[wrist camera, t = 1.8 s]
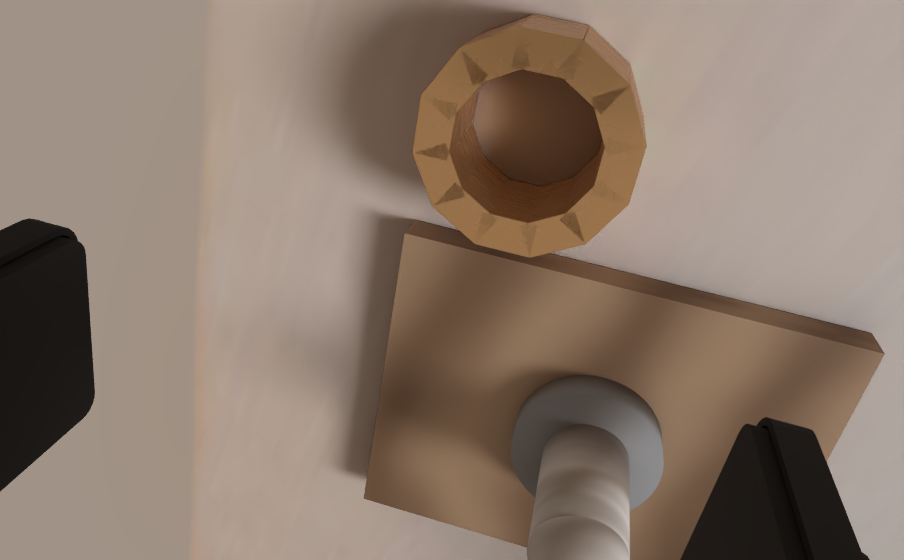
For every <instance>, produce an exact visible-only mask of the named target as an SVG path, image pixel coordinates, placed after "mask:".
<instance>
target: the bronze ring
mask: <svg viewBox="0 0 904 560" xmlns="http://www.w3.org/2000/svg"><path fill="white" fill-rule="evenodd" d="M521 69H523V70H527V71H532V72H536V73H541V74H546V75H550V76H555V77H559V78H563V79H564V80H565V81H566V82H567V83H568V84H570V85H571V86H572V87H573V88H574V89H575V90H576V91H577V92H578V93H579V94H580V95H581V96H582V97H583V98H584V99H585V100H587V101H588V102H589V103H590V104H591V105H592V106H593V107H594V110H595V113H596V117H597V120H598V124H599V128H600V131H601V135H602V142H601V146H600V149H599V153H598V154H597V155H596V156H595V157H594V158H593V159H592V160H591V161H590V162H589V163H588V164H587V165H586V166H585V167H584V168H583V169H582V170H581V171H580V172H579V173H578V174H577V175H576V176H575V177H574V178H570V179H567V180H563V181H559V182H556V183H552V184H548V185H545V186H541V187H540V186H536V185H532V184H528V183H524V182H519V181H515V180H511V179H508V178H507V177H506V176H504V175H503V174H502V173H501V172H500V171H499V170H498V169H497V168H496V167H495V166H493V165H492V164H491V163H490V162H489V161H488V160H487V159H486V158H485V157H484V156H483V154H482V151H481V148H480V145H479V142H478V139H477V136H476V134H475V131H474V128H473V125H472V123H473V118H474V112H475V107H476V101H477V96H478V91H479V89H480V88H481V87H482V85H483V84H484V83H485V82H486V81H488V80H491V79H494V78H497V77H500V76H503V75H506V74H509V73H512V72H515V71H518V70H521ZM645 150H646V136H645V127H644V117H643V113H642V109H641V105H640V101H639V97H638V93H637V89H636V85H635V82H634V78H633V74H632V70H631V66H630V64H629V63H628V62H627V61H626V60H625V59H624V58H623V57H622V56H621V55H620V54H619V53H618V52H617V51H616V50H615V49H614V48H613V47H612V46H611V45H610V44H609V43H608V42H607V41H605V40H604V39H603V38H602V37H601V36H600V35H599V34H598V33H597V32H596V31H595V30H594V29H593V28H592V27H591V26H589V25H586V24H581V23H576V22H572V21H567V20H562V19H557V18H552V17H548V16H543V15H538V14H533V15H530V16H527V17H524V18H522V19H519V20H516V21H513V22H511V23H508V24H505V25H502V26H500V27H497V28H494V29H491V30H489V31H486V32H483V33H481V34H480V35H478V36H477V37H475V38H474V39H472V40H471V41H469V42H468V43H466V44H464V45H463V46H461V47H460V48H459V49H458V50H457V51H456V53H455V54H454V55H453V56H452V57H451V59H450V60H449V61H448V62H447V64H446V65H445V66H444V67H443V69H442V70H441V71H440V72H439V74H438V75H437V76H436V77H435V78H434V80H433V81H432V82H431V83H430V85H429V86H428V87H427V88H426V90H425V91H424V92H423V93H422V94H421V99H420V106H419V112H418V119H417V125H416V132H415V139H414V145H413V152H412V153H413V156H414V159H415V161H416V164H417V167H418V169H419V172H420V175H421V177H422V180H423V183H424V185H425V188H426V191H427V193H428V196H429V199H430V201H431V204H432V206H433V207H434V208H435V209H436V210H437V211H438V212H439V213H440V214H441V215H443V216H444V217H445V218H446V219H447V220H448V221H449V222H451V223H452V224H453V225H454V226H455V227H456V228H457V229H458V230H460V231H461V232H462V233H463V234H464V235H465V236H466V237H468V238H469V239H470V240H471V241H472V242H473V243H474V244H477V245H481V246H485V247H489V248H493V249H497V250H501V251H505V252H509V253H513V254H517V255H521V256H525V257H530V258H531V257H535V256H539V255H543V254H547V253H551V252H555V251H559V250H563V249H568V248H572V247H576V246H580V245H584V244H586V243H587V242H588V241H589V240H591V239H592V238H593V237H594V236H595V235H596V234H597V233H598V232H599V231H600V230H601V229H602V228H604V227H605V226H606V225H607V224H608V223H609V222H610V221H611V220H612V219H613V218H614V217H616V216H617V215H618V214H619V213H620V212H621V211H622V210H623V209H624V208H625V207H626V206H627V205H628V204H629V202H630V199H631V195H632V192H633V189H634V185H635V182H636V179H637V176H638V172H639V169H640V166H641V163H642V159H643V156H644V153H645Z"/></svg>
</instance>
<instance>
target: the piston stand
mask: <svg viewBox="0 0 904 560" xmlns="http://www.w3.org/2000/svg"><path fill="white" fill-rule="evenodd" d="M883 356H884V352H883V350H882V349H881V347H880V346H879V344H878V342H877V341H876V339H875V338H874V336H873V334H872V333H868V332H864V331H860V330H856V329H852V328H848V327H844V326H840V325H836V324H832V323H828V322H824V321H820V320H816V319H812V318H808V317H804V316H800V315H795V314H791V313H787V312H783V311H779V310H775V309H771V308H767V307H763V306H759V305H755V304H751V303H747V302H743V301H739V300H735V299H731V298H727V297H723V296H719V295H715V294H711V293H707V292H703V291H699V290H695V289H691V288H687V287H683V286H679V285H675V284H671V283H667V282H663V281H659V280H655V279H651V278H647V277H643V276H639V275H635V274H631V273H626V272H622V271H618V270H614V269H610V268H606V267H602V266H598V265H594V264H590V263H586V262H582V261H578V260H574V259H570V258H566V257H562V256H558V255H554V254H550V253H547V254H543V255H539V256H535V257H531V258H530V257H525V256H521V255H517V254H513V253H509V252H505V251H501V250H497V249H493V248H489V247H485V246H481V245H477V244H474V243H473V242H472V241H471V240H470V239H469V238H468V237H466V236H465V235H464V234H463V233H462V232H461V231H457V230H453V229H449V228H445V227H441V226H437V225H433V224H429V223H425V222H421V221H417V220H414V221H413V223H412V224H411V225H410V227H409V228H408V229H407V231H406V232H405V233H404V240H403V246H402V253H401V259H400V266H399V272H398V279H397V285H396V292H395V298H394V305H393V311H392V318H391V324H390V331H389V337H388V344H387V350H386V357H385V363H384V370H383V376H382V383H381V389H380V396H379V402H378V409H377V415H376V422H375V429H374V435H373V442H372V448H371V455H370V461H369V468H368V474H367V481H366V487H365V494H364V499H367V500H370V501H374V502H377V503H380V504H384V505H387V506H391V507H394V508H397V509H401V510H404V511H407V512H411V513H414V514H417V515H421V516H424V517H427V518H431V519H434V520H437V521H441V522H444V523H447V524H451V525H454V526H457V527H461V528H464V529H468V530H471V531H474V532H478V533H481V534H484V535H488V536H491V537H494V538H498V539H501V540H504V541H508V542H511V543H514V544H518V545H521V546H524V547H527V559H528V560H680V559H681V557H682V555H683V552H684V550H685V548H686V546H687V544H688V542H689V539H690V537H691V535H692V533H693V531H694V529H695V526H696V524H697V522H698V520H699V518H700V516H701V513H702V511H703V509H704V507H705V505H706V503H707V501H708V498H709V496H710V494H711V492H712V490H713V488H714V485H715V483H716V481H717V479H718V477H719V475H720V472H721V470H722V468H723V466H724V464H725V462H726V459H727V457H728V455H729V453H730V451H731V449H732V446H733V444H734V442H735V440H736V438H737V436H738V433H739V432H740V430H741V428H742V427H743V426H744V425H745V424H751V425H755V426H757V424H758V423H759V421H760V420H761V419H762V418H765V417H768V418H772V419H776V420H779V421H783V422H787V423H790V424H794V425H798V426H801V427H805V428H809V429H811V430H813V431H814V433H815V435H816V437H817V439H818V442H819V444H820V447H821V449H822V452H823V455H824V457H825V460H826V462H827V460H828V458H829V456H830V454H831V452H832V450H833V449H834V447H835V445H836V443H837V441H838V439H839V438H840V436H841V434H842V432H843V430H844V428H845V426H846V425H847V423H848V421H849V419H850V417H851V415H852V413H853V412H854V410H855V408H856V406H857V404H858V402H859V401H860V399H861V397H862V395H863V393H864V391H865V389H866V388H867V386H868V384H869V382H870V380H871V378H872V376H873V375H874V373H875V371H876V369H877V367H878V365H879V364H880V362H881V360H882V358H883Z"/></svg>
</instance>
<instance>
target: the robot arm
mask: <svg viewBox="0 0 904 560" xmlns="http://www.w3.org/2000/svg"><path fill="white" fill-rule="evenodd" d="M94 394H95V389H94V374H93V358H92V343H91V327H90V312H89V297H88V282H87V267H86V253H85V249H84V247H83V245H82V244H81V243H80V242H78V240H77V237H76V235H75V234H74V232H73V231H71V230H70V229H68V228H65V227H61V226H58V225H54V224H50V223H46V222H43V221H39V220H35V219H25V220H22V221H20V222H18V223H15V224H13V225H11V226H9V227H7V228H5V229H2V230H0V491H1V490H2V489H3V488H5V487H6V486H7V485H8V484H9V483H10V482H11V481H13V479H15V478H16V477H17V476H18V475H19V474H20V473H22V472H23V471H24V470H25V469H26V468H27V467H28V466H30V465H31V464H32V463H33V462H34V461H35V460H36V459H38V458H39V457H40V456H41V455H42V454H43V453H44V452H45V451H47V450H48V449H49V448H50V447H51V446H52V445H53V444H54V443H56V442H57V441H58V440H59V439H60V438H61V437H62V436H63V435H65V434H66V433H67V432H68V431H69V430H70V429H71V428H73V427H74V426H75V425H76V424H77V423H78V422H79V421H81V420H82V419H83V418H84V417H85V416H86V415H87V413H88V412H89V410H90V408H91V406H92V404H93V400H94ZM680 560H869V558H868V556H866V555H865V554H864V553H862V552H861V549H860V547H859V544H858V542H857V539H856V537H855V534H854V531H853V529H852V526H851V524H850V521H849V519H848V516H847V513H846V511H845V508H844V506H843V503H842V501H841V498H840V496H839V493H838V490H837V488H836V485H835V483H834V480H833V478H832V475H831V472H830V470H829V467H828V465H827V462H826V460H825V457H824V455H823V452H822V449H821V447H820V444H819V442H818V439H817V437H816V435H815V433H814V431H813V430H811V429H809V428H805V427H801V426H798V425H794V424H790V423H787V422H783V421H779V420H776V419H772V418H768V417H765V418H762V419H761V420H760V421H759V423H758V424H757V426H755V425H751V424H745V425H744V426H743V427H742V428H741V430H740V432H739V433H738V436H737V438H736V440H735V442H734V444H733V446H732V449H731V451H730V453H729V455H728V457H727V459H726V462H725V464H724V466H723V468H722V470H721V472H720V475H719V477H718V479H717V481H716V483H715V485H714V488H713V490H712V492H711V494H710V496H709V498H708V501H707V503H706V505H705V507H704V509H703V511H702V513H701V516H700V518H699V520H698V522H697V524H696V526H695V529H694V531H693V533H692V535H691V537H690V539H689V542H688V544H687V546H686V548H685V550H684V552H683V555H682V557H681V559H680Z"/></svg>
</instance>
